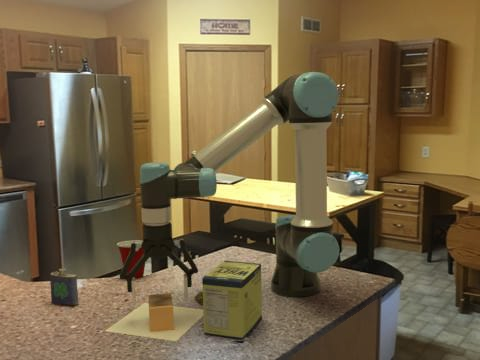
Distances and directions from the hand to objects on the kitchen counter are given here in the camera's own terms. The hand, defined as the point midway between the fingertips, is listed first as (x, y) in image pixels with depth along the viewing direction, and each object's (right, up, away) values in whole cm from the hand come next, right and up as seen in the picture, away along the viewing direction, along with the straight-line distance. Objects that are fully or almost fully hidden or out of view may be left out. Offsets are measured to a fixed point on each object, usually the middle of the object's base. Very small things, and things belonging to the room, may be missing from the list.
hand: (160, 301), depth 139 cm
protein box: (+20, -6, -4) cm, 21 cm away
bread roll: (+15, -4, +14) cm, 21 cm away
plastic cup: (-15, -1, +39) cm, 42 cm away
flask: (-31, -5, +16) cm, 35 cm away
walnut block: (0, -1, +2) cm, 3 cm away
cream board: (0, -6, 0) cm, 6 cm away
